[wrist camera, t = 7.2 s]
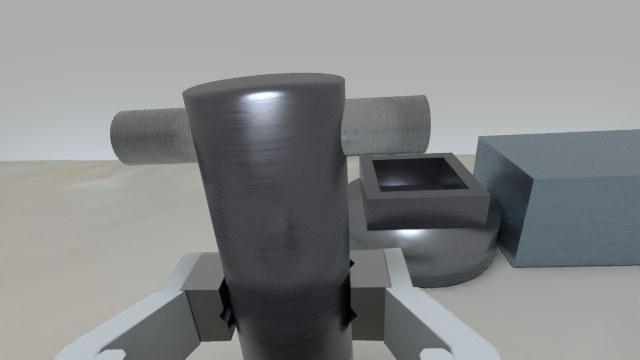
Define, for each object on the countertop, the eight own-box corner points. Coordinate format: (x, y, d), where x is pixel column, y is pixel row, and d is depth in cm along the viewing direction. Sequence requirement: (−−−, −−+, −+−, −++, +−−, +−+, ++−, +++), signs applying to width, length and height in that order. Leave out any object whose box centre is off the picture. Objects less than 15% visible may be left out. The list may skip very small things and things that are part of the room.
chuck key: (205, 486, 10) (55, 110, 5) (233, 386, 13) (153, 80, 8) (410, 491, 10) (452, 88, 5) (393, 387, 13) (409, 65, 8)
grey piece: (336, 288, 18) (332, 199, 16) (336, 201, 27) (333, 136, 25) (753, 282, 17) (816, 184, 14) (606, 192, 26) (630, 122, 23)
